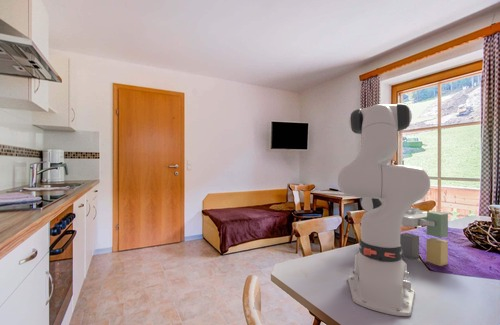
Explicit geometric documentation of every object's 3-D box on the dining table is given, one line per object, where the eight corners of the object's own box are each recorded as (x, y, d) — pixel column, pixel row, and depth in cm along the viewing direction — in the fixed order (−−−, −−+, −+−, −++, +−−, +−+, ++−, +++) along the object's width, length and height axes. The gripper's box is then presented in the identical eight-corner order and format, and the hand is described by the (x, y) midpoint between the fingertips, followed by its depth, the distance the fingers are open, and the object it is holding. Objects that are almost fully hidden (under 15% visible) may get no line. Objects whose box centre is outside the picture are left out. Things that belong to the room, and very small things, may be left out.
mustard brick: (447, 264, 95) (447, 241, 95) (440, 266, 93) (440, 242, 93) (433, 259, 100) (433, 237, 100) (426, 261, 98) (426, 239, 98)
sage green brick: (447, 236, 95) (448, 213, 95) (440, 237, 93) (441, 214, 93) (433, 232, 100) (433, 211, 100) (426, 234, 98) (426, 212, 98)
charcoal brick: (418, 257, 102) (419, 235, 102) (411, 259, 100) (411, 237, 100) (406, 253, 107) (407, 232, 107) (399, 254, 104) (400, 234, 104)
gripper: (389, 210, 104) (424, 217, 91) (417, 207, 113) (453, 213, 100) (389, 225, 104) (424, 234, 91) (417, 221, 113) (453, 228, 100)
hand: (439, 223), depth 96 cm, fingers closed on sage green brick, 5 cm apart
